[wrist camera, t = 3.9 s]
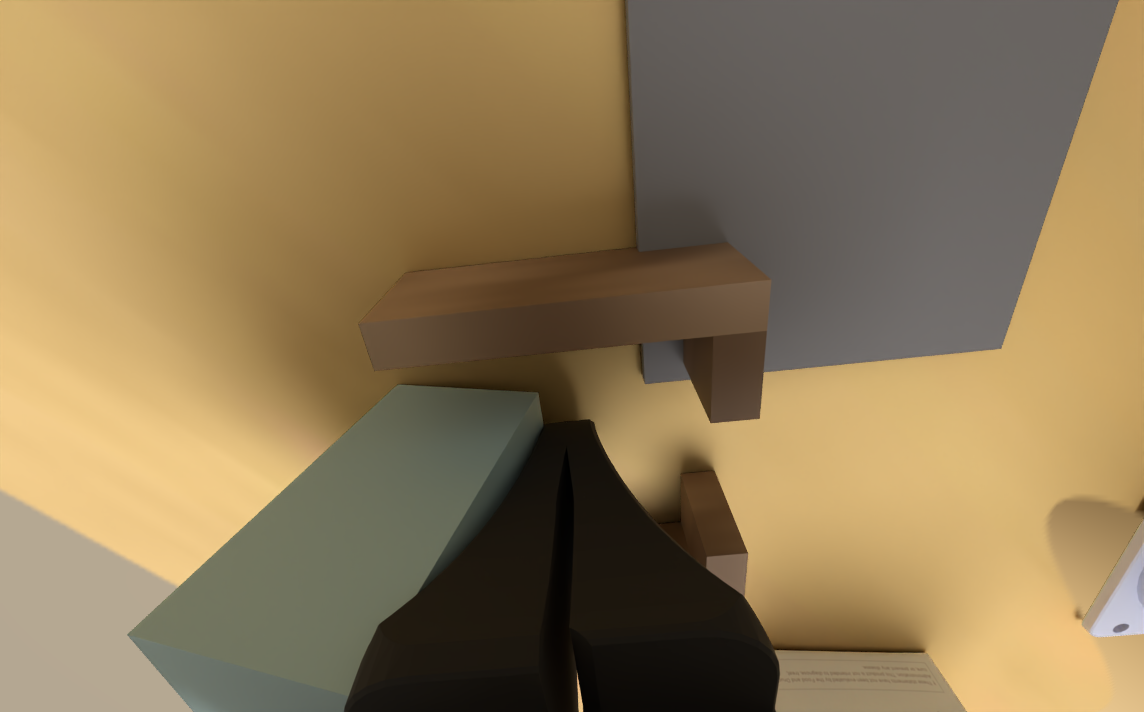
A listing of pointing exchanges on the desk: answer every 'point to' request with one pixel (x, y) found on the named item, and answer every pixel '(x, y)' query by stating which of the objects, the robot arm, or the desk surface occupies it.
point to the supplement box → (862, 683)
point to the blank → (341, 552)
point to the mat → (858, 159)
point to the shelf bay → (603, 340)
